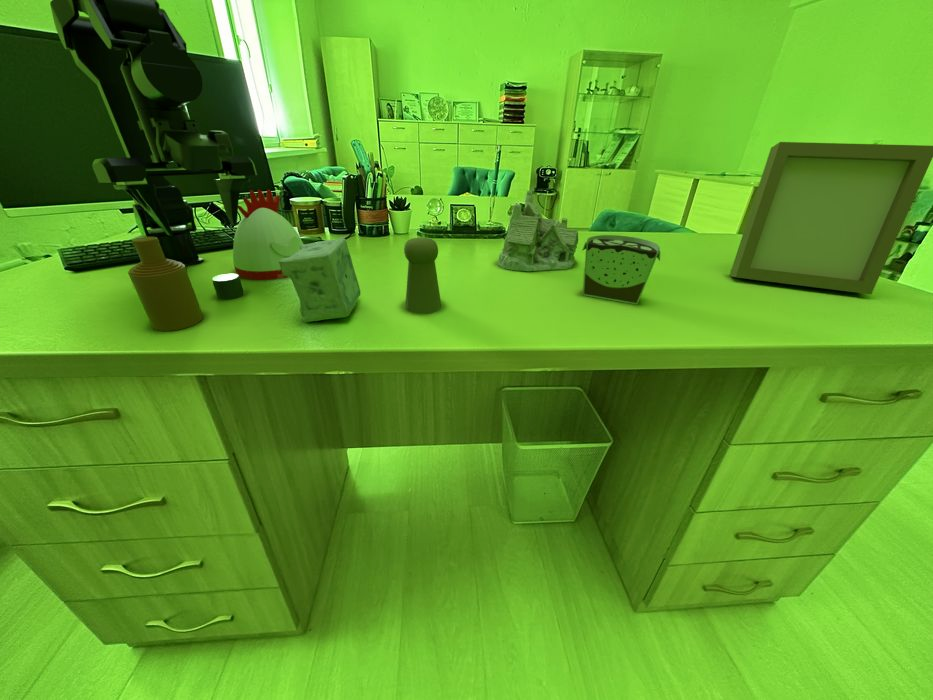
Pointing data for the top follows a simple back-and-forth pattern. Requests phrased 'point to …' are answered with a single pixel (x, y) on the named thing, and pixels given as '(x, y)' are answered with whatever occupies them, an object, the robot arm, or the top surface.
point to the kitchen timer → (263, 239)
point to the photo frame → (829, 213)
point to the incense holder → (323, 279)
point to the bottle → (163, 288)
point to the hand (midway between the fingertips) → (204, 230)
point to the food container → (618, 267)
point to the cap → (228, 286)
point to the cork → (422, 276)
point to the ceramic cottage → (537, 241)
